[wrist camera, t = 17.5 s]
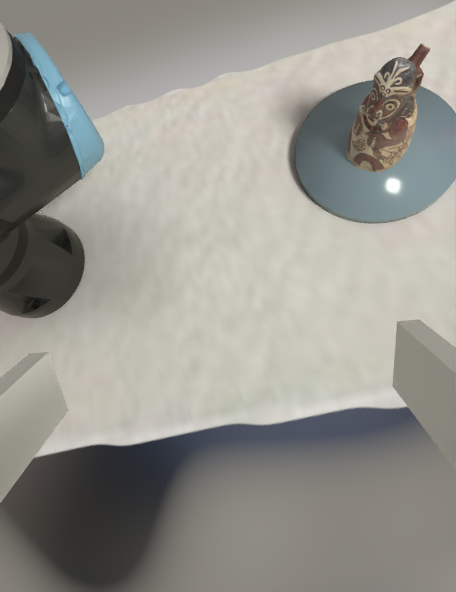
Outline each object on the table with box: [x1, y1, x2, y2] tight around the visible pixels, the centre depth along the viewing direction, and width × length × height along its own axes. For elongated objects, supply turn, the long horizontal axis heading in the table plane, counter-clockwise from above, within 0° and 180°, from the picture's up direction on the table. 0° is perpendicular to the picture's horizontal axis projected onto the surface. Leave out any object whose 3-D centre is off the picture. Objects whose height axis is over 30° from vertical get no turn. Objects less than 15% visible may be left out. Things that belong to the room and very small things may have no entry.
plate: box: [295, 80, 456, 223], centre depth 41 cm, size 20×20×1 cm
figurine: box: [346, 44, 430, 172], centre depth 35 cm, size 7×7×12 cm
